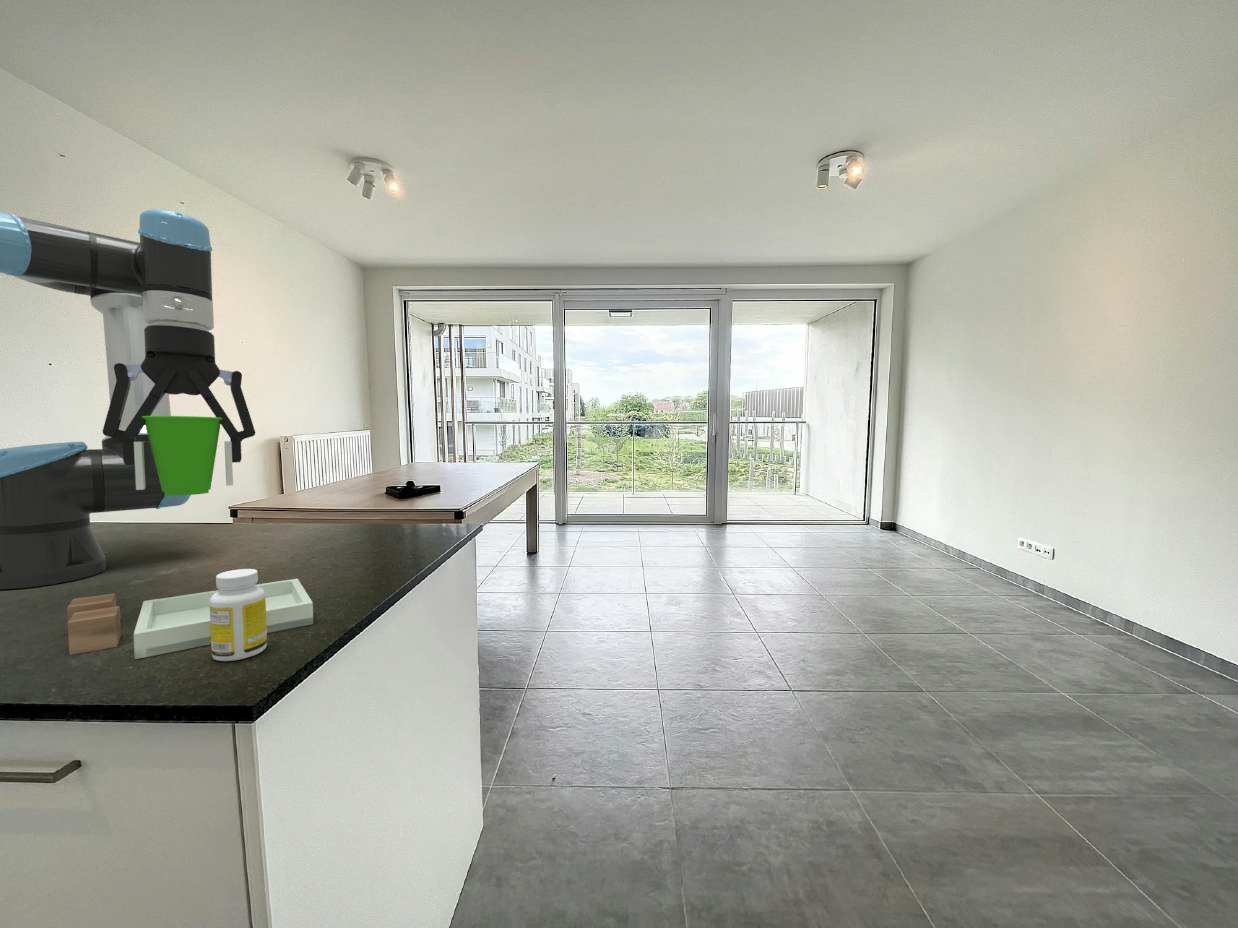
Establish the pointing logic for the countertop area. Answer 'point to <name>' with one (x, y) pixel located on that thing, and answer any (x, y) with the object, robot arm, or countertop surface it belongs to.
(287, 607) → the tray
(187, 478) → the cup
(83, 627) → the walnut block
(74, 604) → the walnut block
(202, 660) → the countertop surface
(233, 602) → the supplement bottle
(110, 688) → the countertop surface
